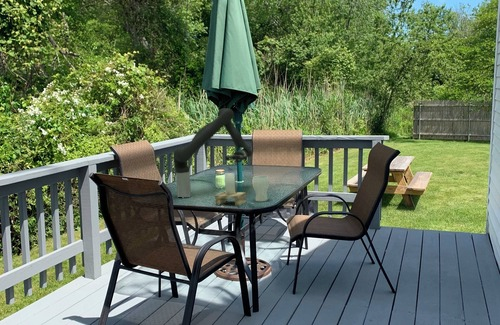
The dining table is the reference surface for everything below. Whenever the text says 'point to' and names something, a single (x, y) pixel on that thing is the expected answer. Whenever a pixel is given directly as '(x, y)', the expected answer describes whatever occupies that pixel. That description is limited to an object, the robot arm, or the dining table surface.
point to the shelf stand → (238, 196)
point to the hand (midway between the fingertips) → (234, 159)
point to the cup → (261, 187)
